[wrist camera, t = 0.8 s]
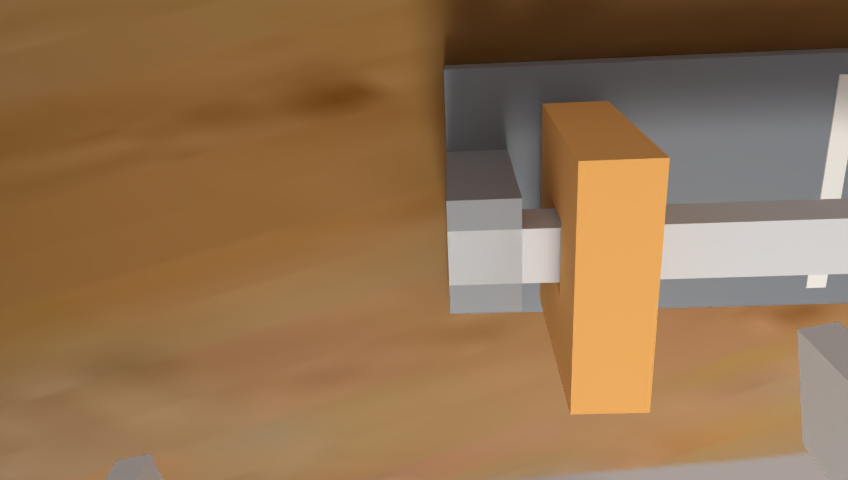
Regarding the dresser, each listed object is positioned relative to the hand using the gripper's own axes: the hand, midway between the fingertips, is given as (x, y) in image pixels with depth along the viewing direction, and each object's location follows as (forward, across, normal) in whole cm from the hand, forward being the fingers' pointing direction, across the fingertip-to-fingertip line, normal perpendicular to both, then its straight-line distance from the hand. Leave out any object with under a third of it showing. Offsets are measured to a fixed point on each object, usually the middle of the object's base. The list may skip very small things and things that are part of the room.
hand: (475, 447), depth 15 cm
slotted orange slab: (+21, +5, -3) cm, 22 cm away
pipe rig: (+24, +13, -5) cm, 28 cm away
